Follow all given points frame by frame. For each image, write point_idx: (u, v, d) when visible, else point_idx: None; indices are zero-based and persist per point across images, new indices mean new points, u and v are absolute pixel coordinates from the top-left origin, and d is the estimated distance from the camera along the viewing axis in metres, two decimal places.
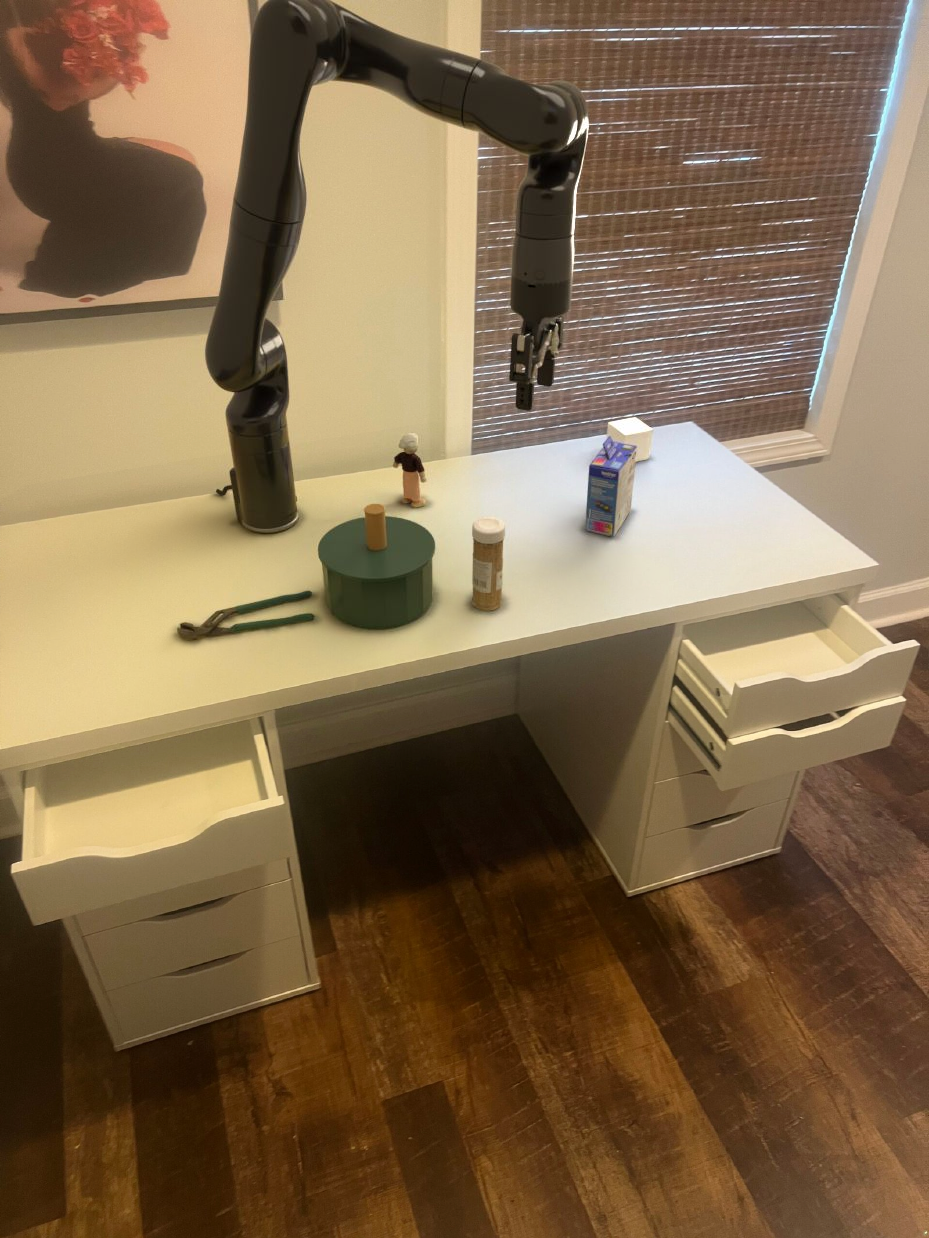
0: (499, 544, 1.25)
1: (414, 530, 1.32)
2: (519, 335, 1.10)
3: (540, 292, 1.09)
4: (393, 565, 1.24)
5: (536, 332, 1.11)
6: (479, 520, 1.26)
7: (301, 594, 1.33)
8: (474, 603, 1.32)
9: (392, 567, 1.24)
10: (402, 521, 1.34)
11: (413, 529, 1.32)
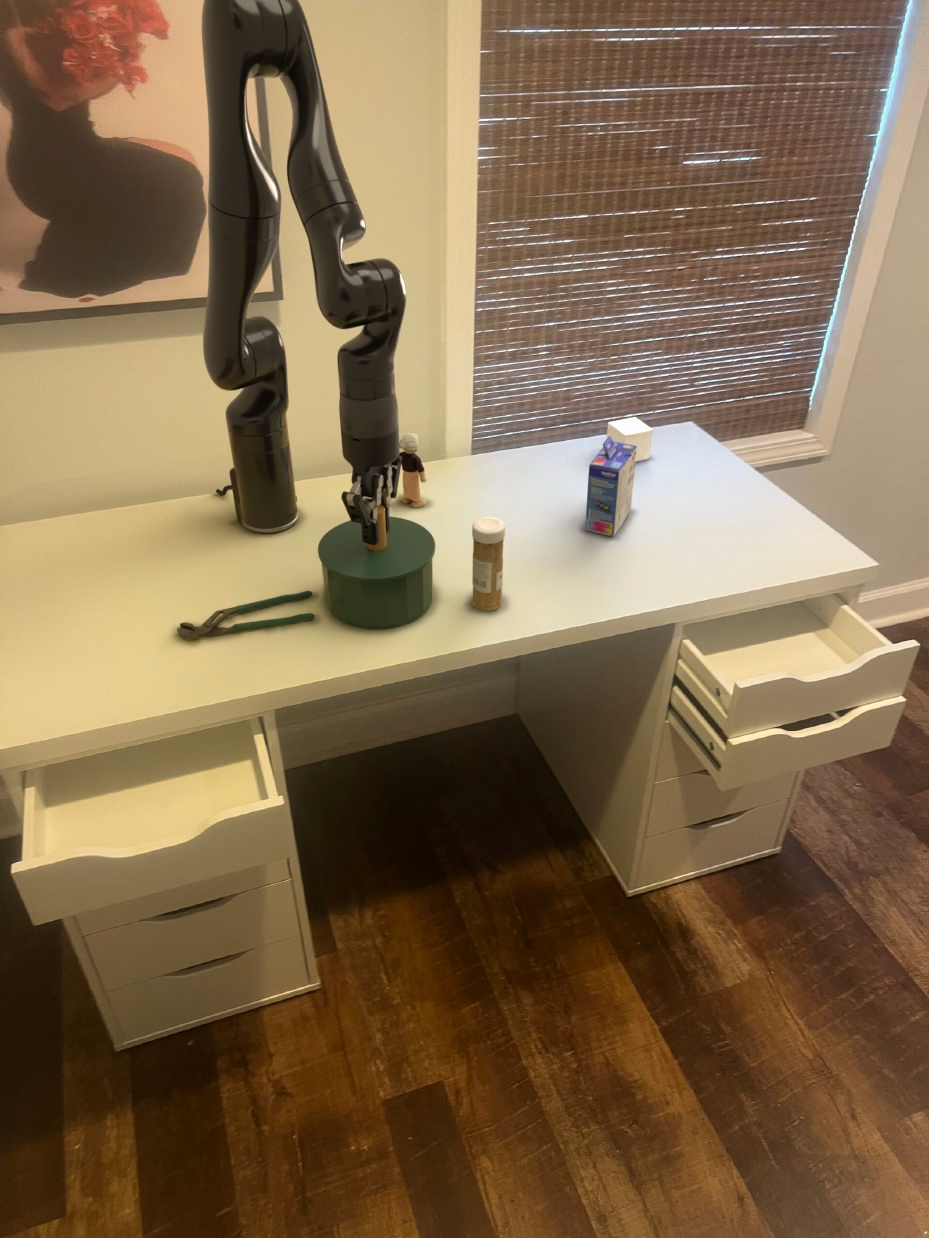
0: (499, 544, 1.25)
1: (414, 530, 1.32)
2: (347, 496, 1.17)
3: (365, 445, 1.15)
4: (393, 565, 1.24)
5: (365, 479, 1.18)
6: (479, 520, 1.26)
7: (301, 594, 1.33)
8: (474, 603, 1.32)
9: (392, 567, 1.24)
10: (402, 521, 1.34)
11: (413, 529, 1.32)
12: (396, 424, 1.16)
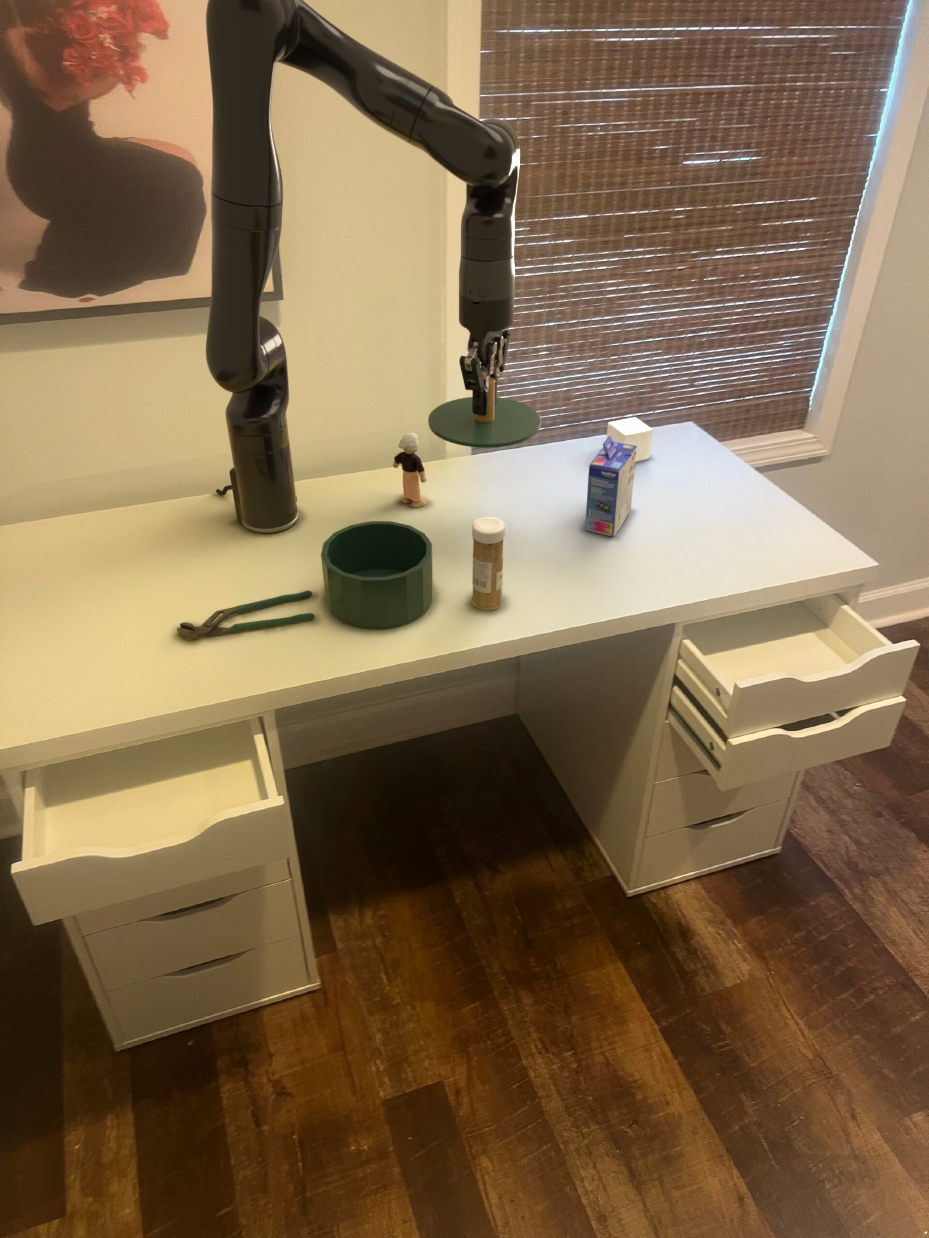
0: (499, 544, 1.25)
1: (518, 407, 1.36)
2: (465, 359, 1.22)
3: (484, 308, 1.20)
4: (503, 434, 1.29)
5: (481, 344, 1.22)
6: (479, 520, 1.26)
7: (301, 594, 1.33)
8: (474, 603, 1.32)
9: (503, 435, 1.29)
10: (505, 400, 1.39)
11: (517, 406, 1.37)
12: (513, 289, 1.21)
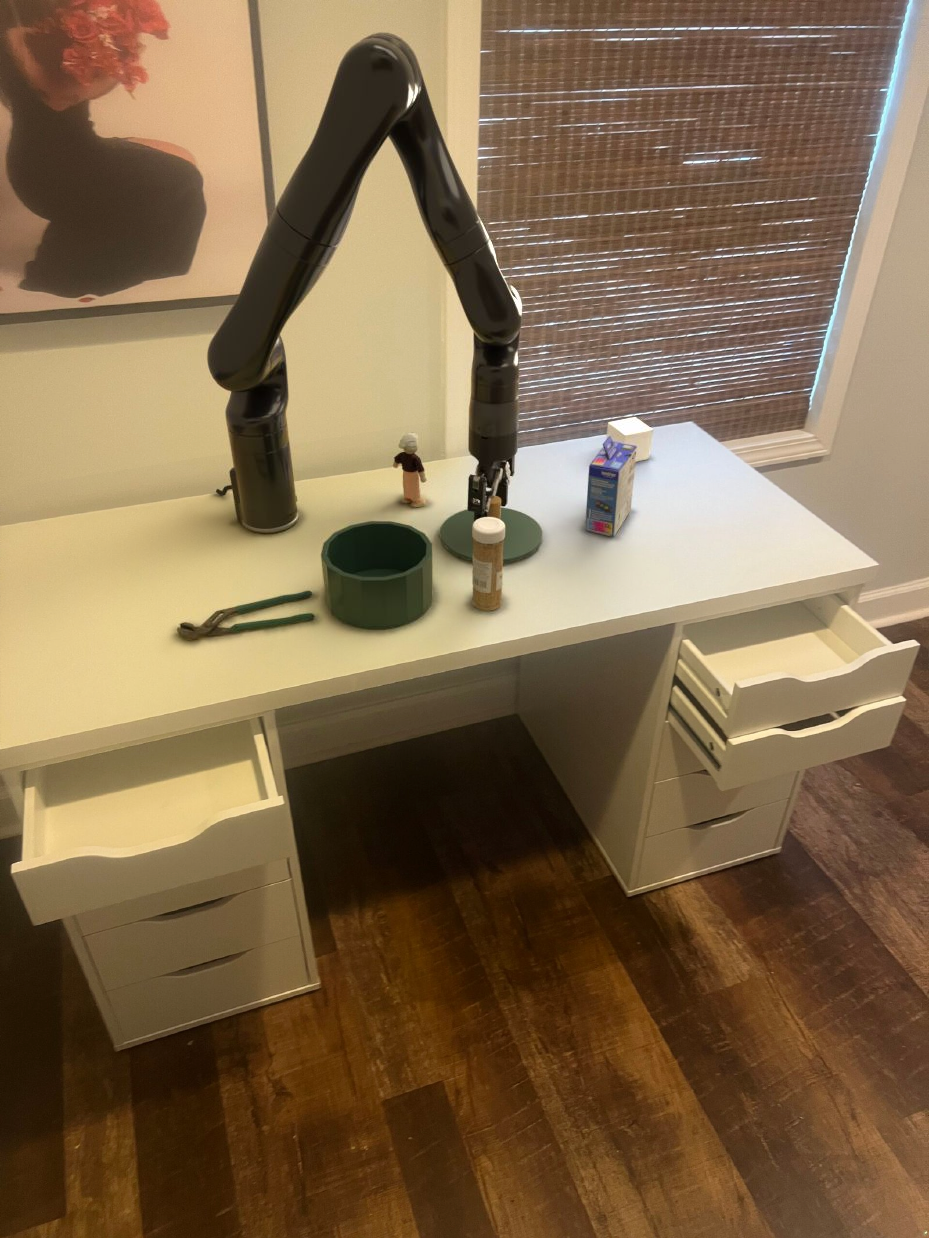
0: (499, 544, 1.25)
1: (521, 519, 1.50)
2: (474, 476, 1.34)
3: (492, 442, 1.33)
4: (509, 549, 1.42)
5: (489, 472, 1.36)
6: (479, 520, 1.26)
7: (301, 594, 1.33)
8: (474, 603, 1.32)
9: (508, 550, 1.42)
10: (509, 511, 1.52)
11: (520, 518, 1.50)
12: (518, 424, 1.34)
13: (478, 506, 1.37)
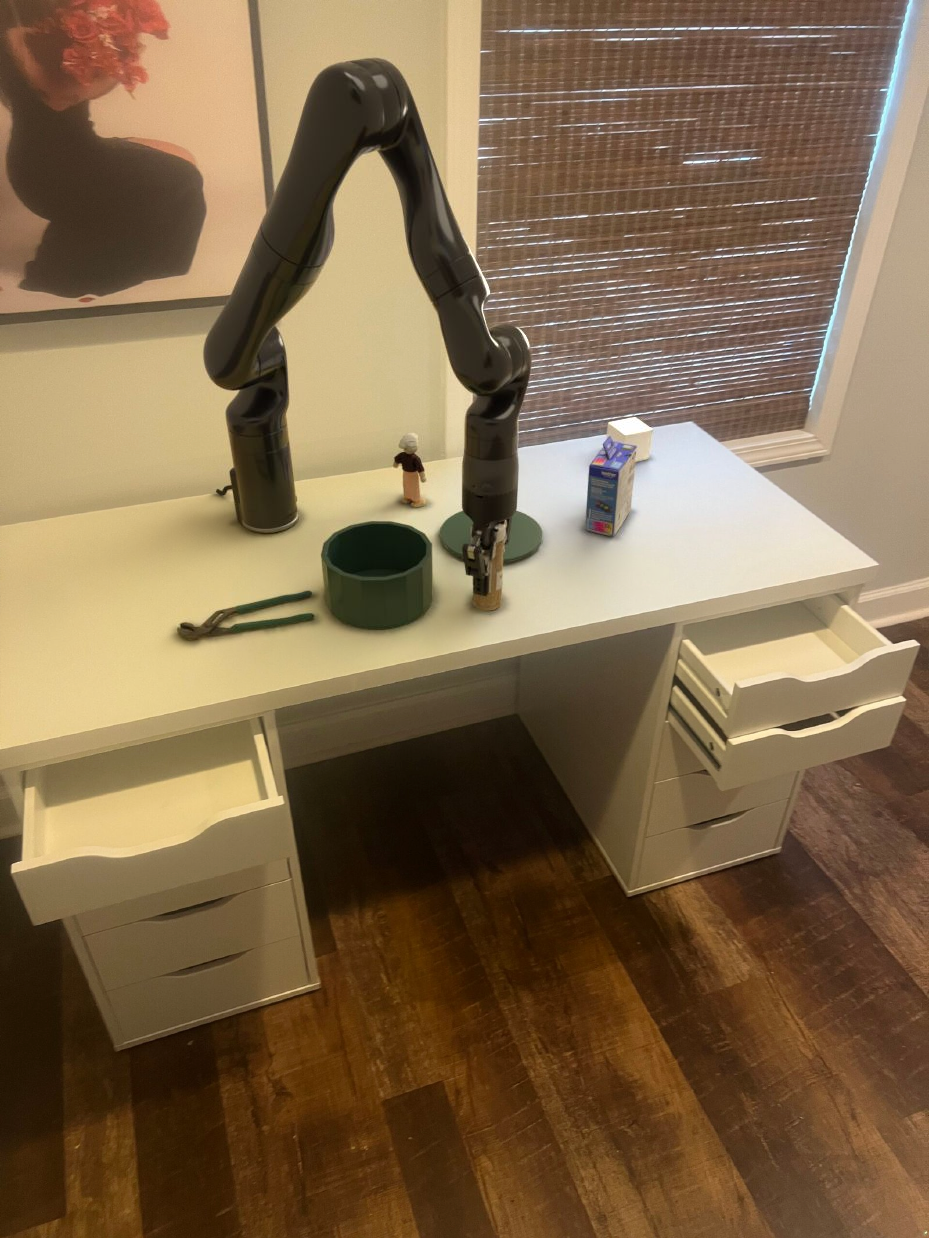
0: (499, 544, 1.25)
1: (521, 519, 1.50)
2: (468, 548, 1.20)
3: (488, 502, 1.19)
4: (509, 549, 1.42)
5: (485, 534, 1.21)
6: None
7: (301, 594, 1.33)
8: (474, 603, 1.32)
9: (508, 550, 1.42)
10: None
11: (520, 518, 1.50)
12: (517, 481, 1.20)
13: (478, 570, 1.24)
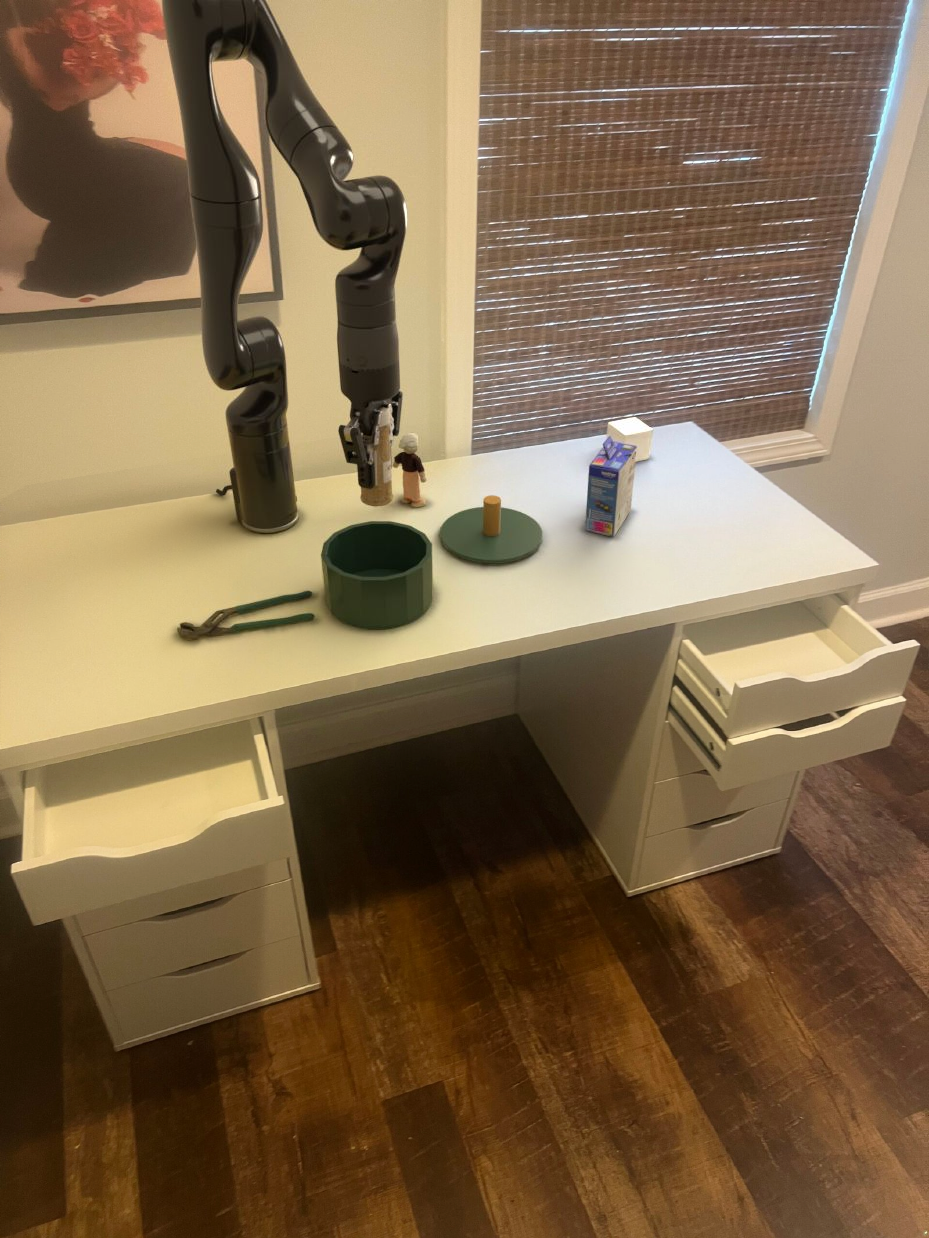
0: (383, 430, 1.16)
1: (521, 519, 1.50)
2: (345, 429, 1.11)
3: (364, 377, 1.10)
4: (509, 549, 1.42)
5: (363, 415, 1.12)
6: None
7: (301, 594, 1.33)
8: (362, 499, 1.23)
9: (508, 550, 1.42)
10: (509, 511, 1.52)
11: (520, 518, 1.50)
12: (397, 356, 1.11)
13: None
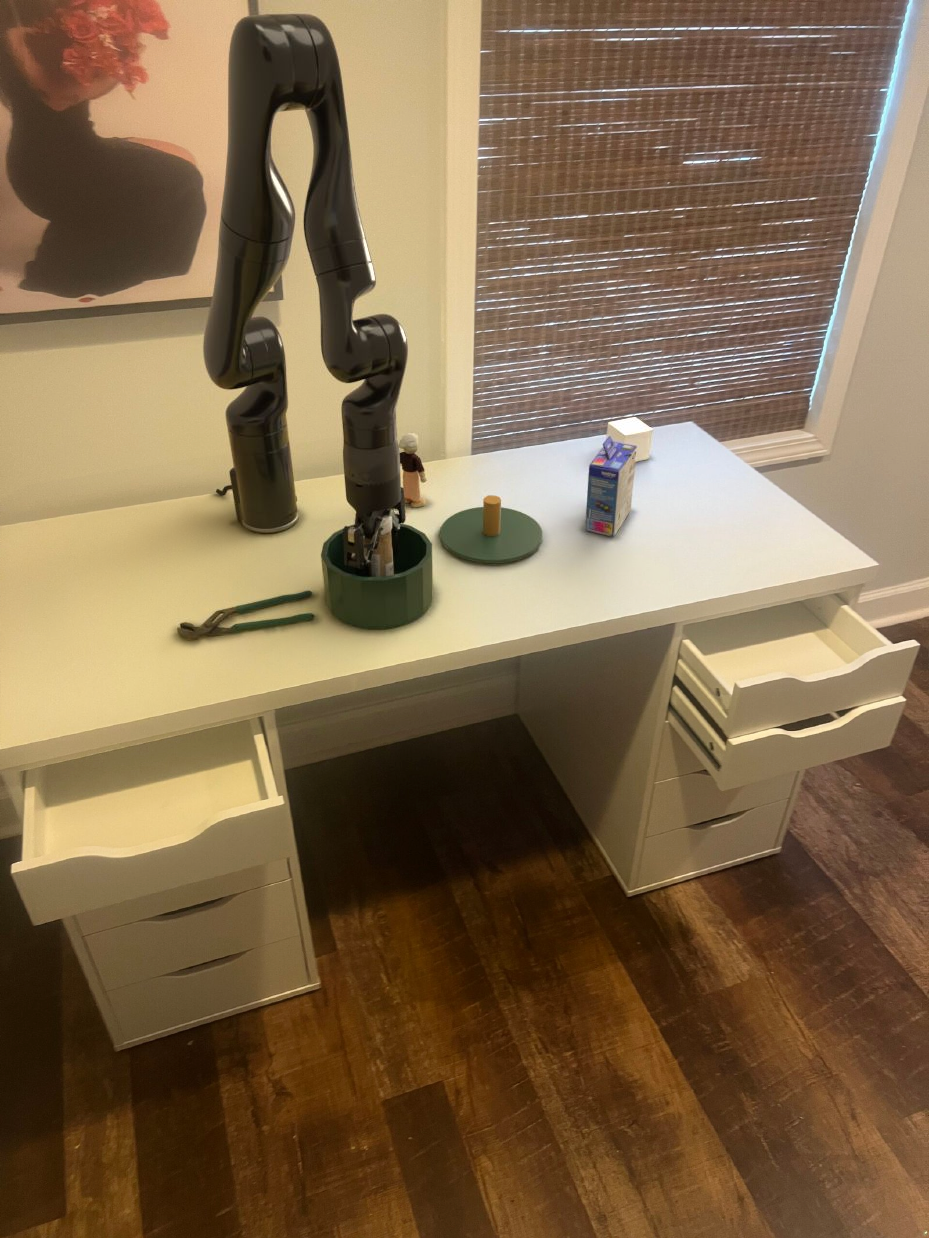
0: (386, 536, 1.26)
1: (521, 519, 1.50)
2: (349, 529, 1.20)
3: (368, 491, 1.19)
4: (509, 549, 1.42)
5: (367, 523, 1.22)
6: None
7: (301, 594, 1.33)
8: None
9: (508, 550, 1.42)
10: (509, 511, 1.52)
11: (520, 518, 1.50)
12: (398, 470, 1.20)
13: (356, 561, 1.22)
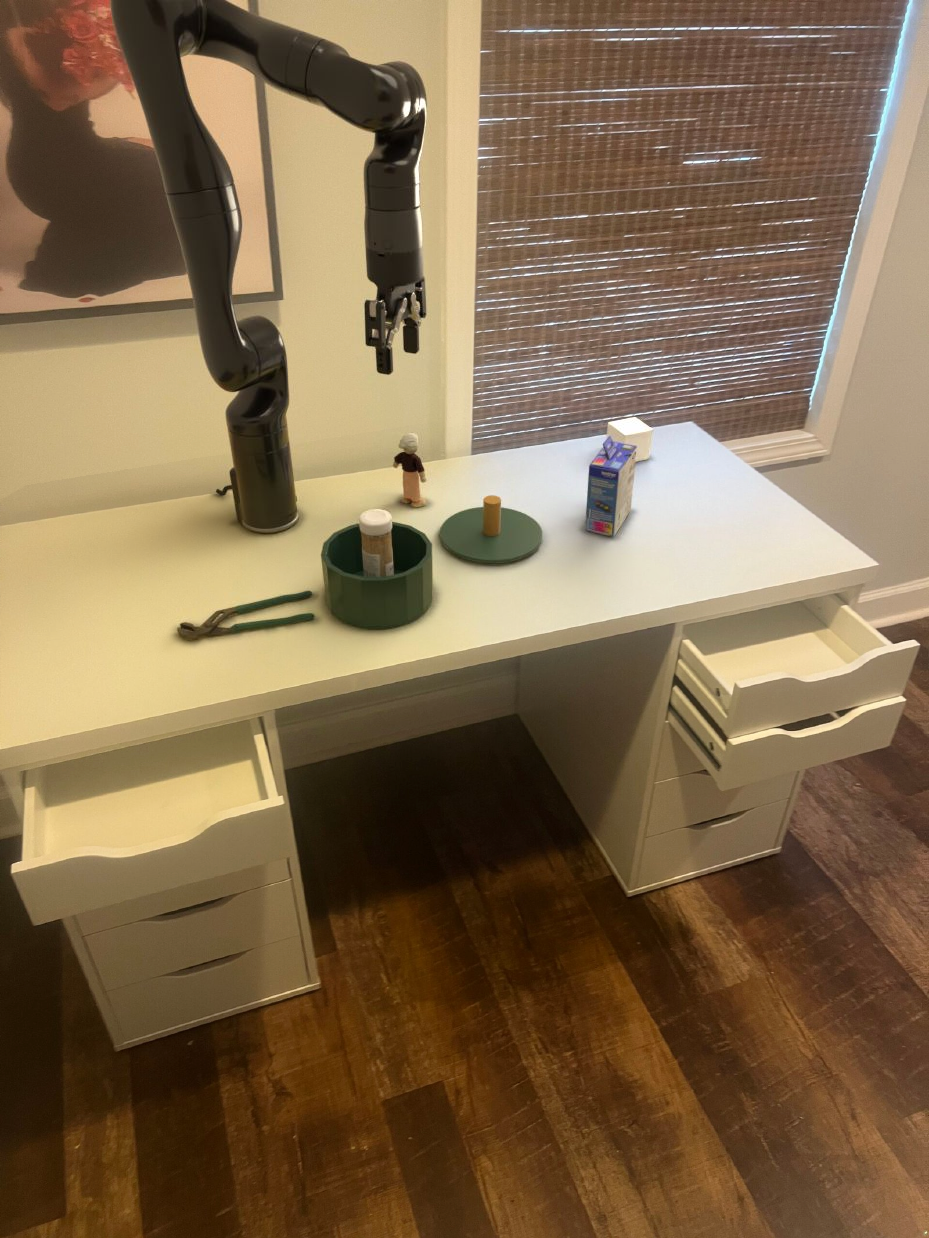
0: (386, 536, 1.26)
1: (521, 519, 1.50)
2: (371, 301, 1.17)
3: (390, 261, 1.16)
4: (509, 549, 1.42)
5: (389, 299, 1.19)
6: (366, 512, 1.26)
7: (301, 594, 1.33)
8: None
9: (508, 550, 1.42)
10: (509, 511, 1.52)
11: (520, 518, 1.50)
12: (421, 242, 1.17)
13: (377, 339, 1.19)
